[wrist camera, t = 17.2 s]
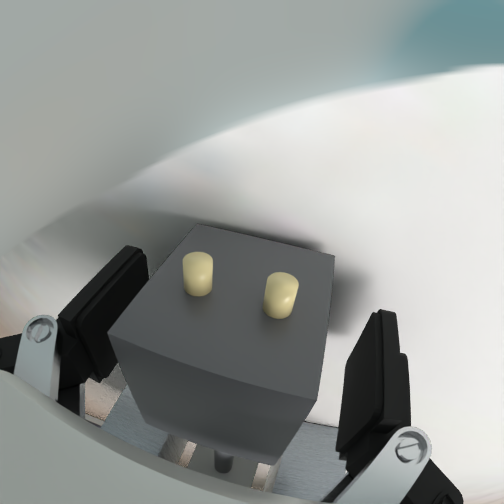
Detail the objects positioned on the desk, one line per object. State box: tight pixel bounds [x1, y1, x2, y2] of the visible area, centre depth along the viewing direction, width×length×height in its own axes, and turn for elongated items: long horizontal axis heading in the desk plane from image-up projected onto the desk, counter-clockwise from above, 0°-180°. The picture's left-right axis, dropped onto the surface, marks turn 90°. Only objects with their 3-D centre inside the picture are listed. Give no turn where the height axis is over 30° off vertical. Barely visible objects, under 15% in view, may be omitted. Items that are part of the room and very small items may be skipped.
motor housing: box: [100, 384, 346, 501], centre depth 14 cm, size 6×14×10 cm, turn 84°
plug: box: [107, 224, 335, 488], centre depth 13 cm, size 22×4×6 cm, turn 174°
